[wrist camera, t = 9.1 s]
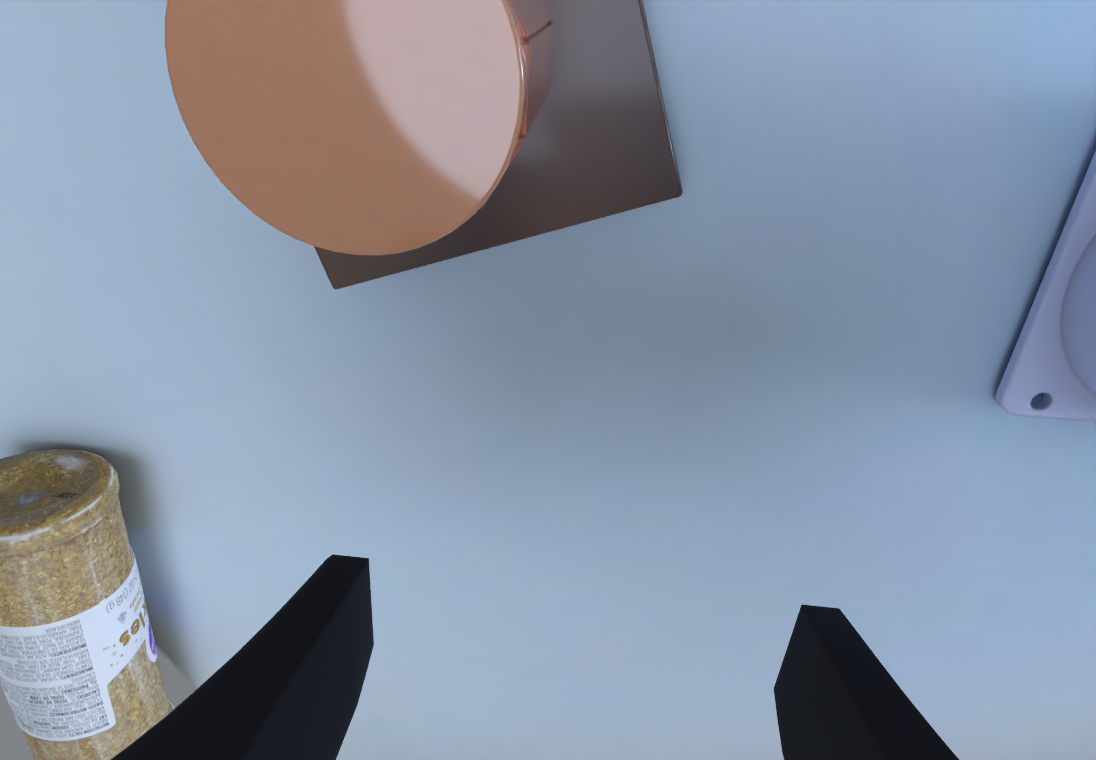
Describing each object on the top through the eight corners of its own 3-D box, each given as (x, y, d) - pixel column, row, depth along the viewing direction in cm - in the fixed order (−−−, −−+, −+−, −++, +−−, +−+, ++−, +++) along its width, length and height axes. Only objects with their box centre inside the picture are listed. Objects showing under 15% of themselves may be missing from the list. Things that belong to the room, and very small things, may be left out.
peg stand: (582, -274, 14) (568, -417, 9) (678, 184, 18) (707, 262, 13) (177, -110, 16) (-24, -152, 11) (347, 274, 20) (259, 374, 15)
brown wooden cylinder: (559, -86, 14) (533, -126, 9) (544, 180, 17) (517, 269, 12) (300, -103, 15) (126, -150, 9) (323, 163, 17) (196, 243, 12)
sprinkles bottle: (129, 436, 24) (192, 709, 30) (-39, 449, 22) (65, 732, 29) (97, 528, 20) (178, 818, 26) (-107, 551, 18) (30, 850, 25)
